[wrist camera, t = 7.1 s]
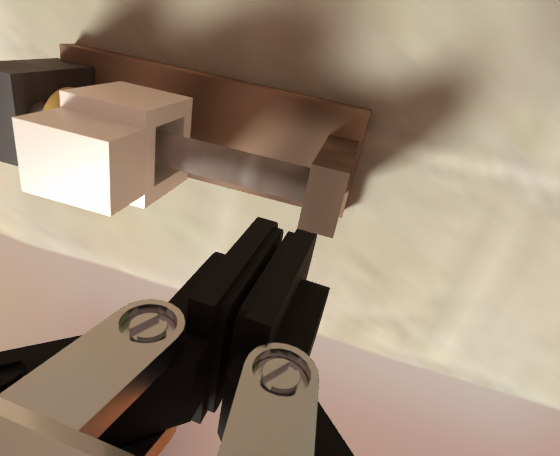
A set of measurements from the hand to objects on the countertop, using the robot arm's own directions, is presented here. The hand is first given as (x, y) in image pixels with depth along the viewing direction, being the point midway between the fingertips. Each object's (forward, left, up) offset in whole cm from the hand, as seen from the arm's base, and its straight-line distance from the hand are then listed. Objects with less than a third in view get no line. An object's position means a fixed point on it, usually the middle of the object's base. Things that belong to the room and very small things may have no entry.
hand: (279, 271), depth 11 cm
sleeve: (+9, 0, -10) cm, 14 cm away
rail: (+8, 0, -13) cm, 15 cm away
